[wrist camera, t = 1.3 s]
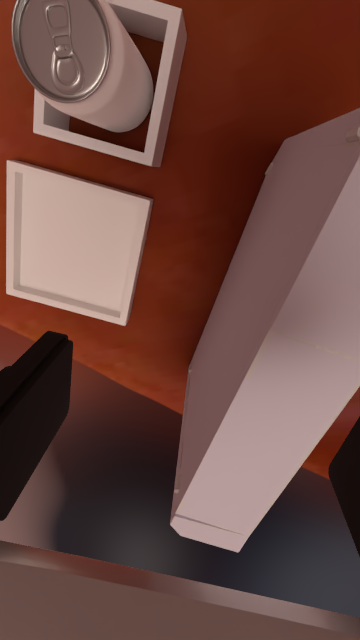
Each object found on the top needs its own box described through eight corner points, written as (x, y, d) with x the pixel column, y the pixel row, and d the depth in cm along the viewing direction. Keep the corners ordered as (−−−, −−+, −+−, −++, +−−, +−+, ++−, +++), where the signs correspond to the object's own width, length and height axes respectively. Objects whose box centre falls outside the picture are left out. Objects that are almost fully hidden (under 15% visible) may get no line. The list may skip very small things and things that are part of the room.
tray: (18, 160, 31) (6, 159, 29) (153, 199, 32) (150, 200, 30) (16, 287, 37) (6, 293, 36) (129, 318, 38) (125, 325, 36)
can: (90, 136, 30) (21, 116, 19) (76, 49, 27) (-14, -32, 16) (158, 130, 29) (125, 106, 18) (150, 40, 26) (107, -50, 15)
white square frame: (69, 1, 26) (39, -35, 21) (187, 36, 26) (182, 8, 21) (60, 138, 30) (33, 132, 25) (160, 167, 30) (151, 166, 26)
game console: (184, 371, 40) (162, 531, 23) (276, 140, 28) (384, 91, 11) (226, 385, 41) (237, 553, 23) (335, 162, 29) (536, 149, 11)
